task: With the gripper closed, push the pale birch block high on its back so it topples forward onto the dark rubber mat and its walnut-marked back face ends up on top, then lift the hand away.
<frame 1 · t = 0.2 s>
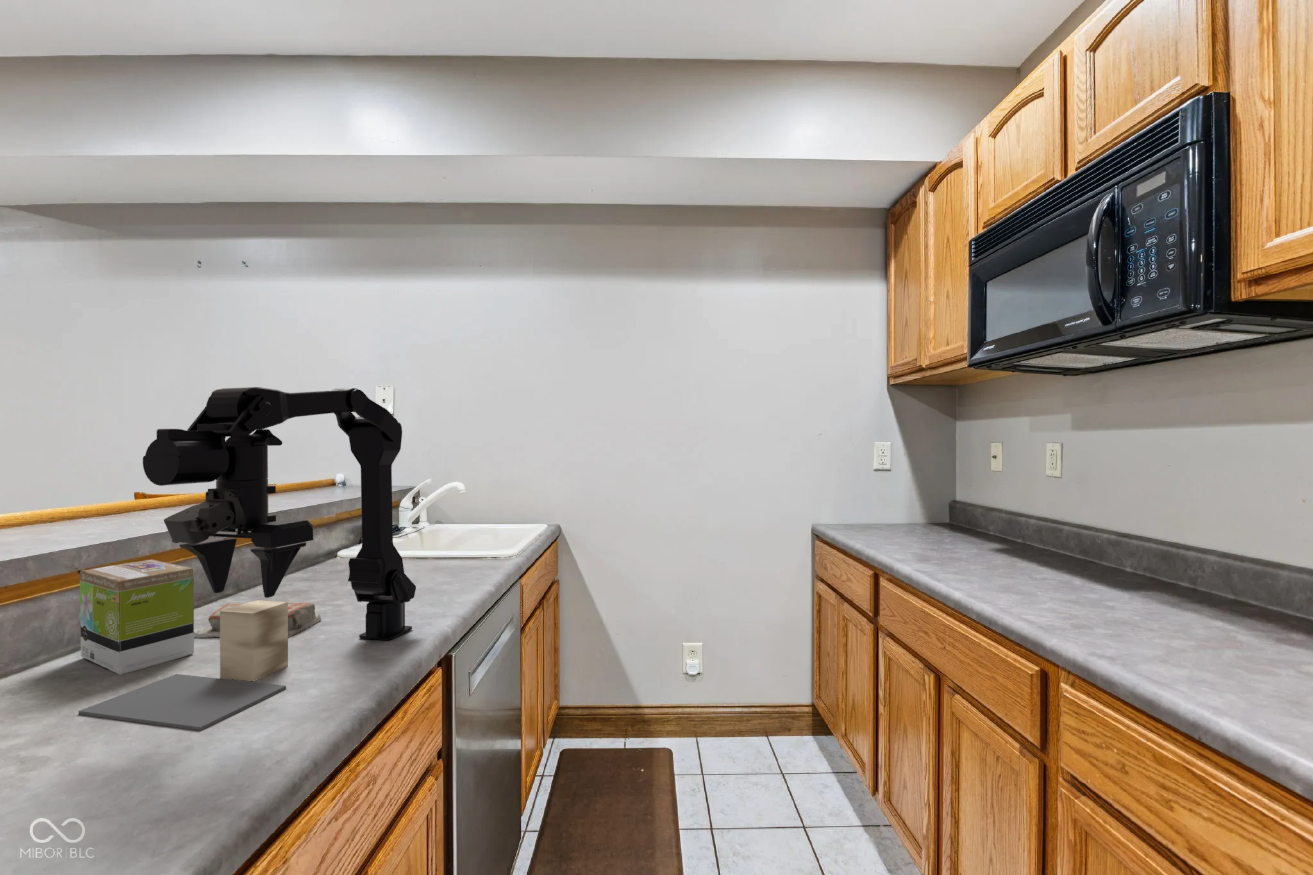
hand: (243, 594, 77), 14 cm above the counter, tool pointing down, fingers open, 9 cm apart
tea box: (137, 658, 93), on the counter
birch block: (254, 671, 86), on the counter
packaged product: (260, 632, 107), on the counter
rubber mat: (187, 700, 77), on the counter
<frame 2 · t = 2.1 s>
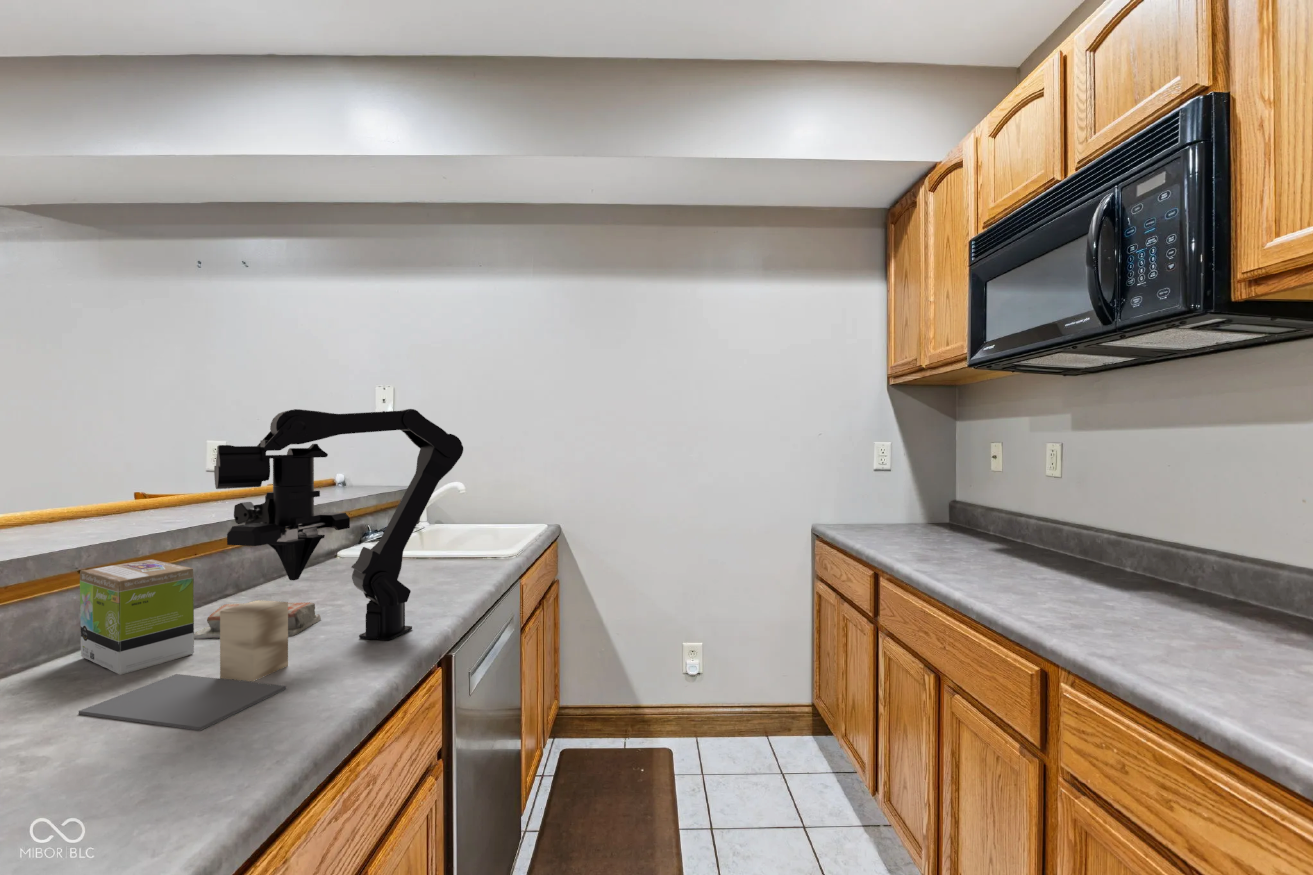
hand: (294, 579, 93), 12 cm above the counter, tool pointing down, fingers closed
nothing on the counter moved.
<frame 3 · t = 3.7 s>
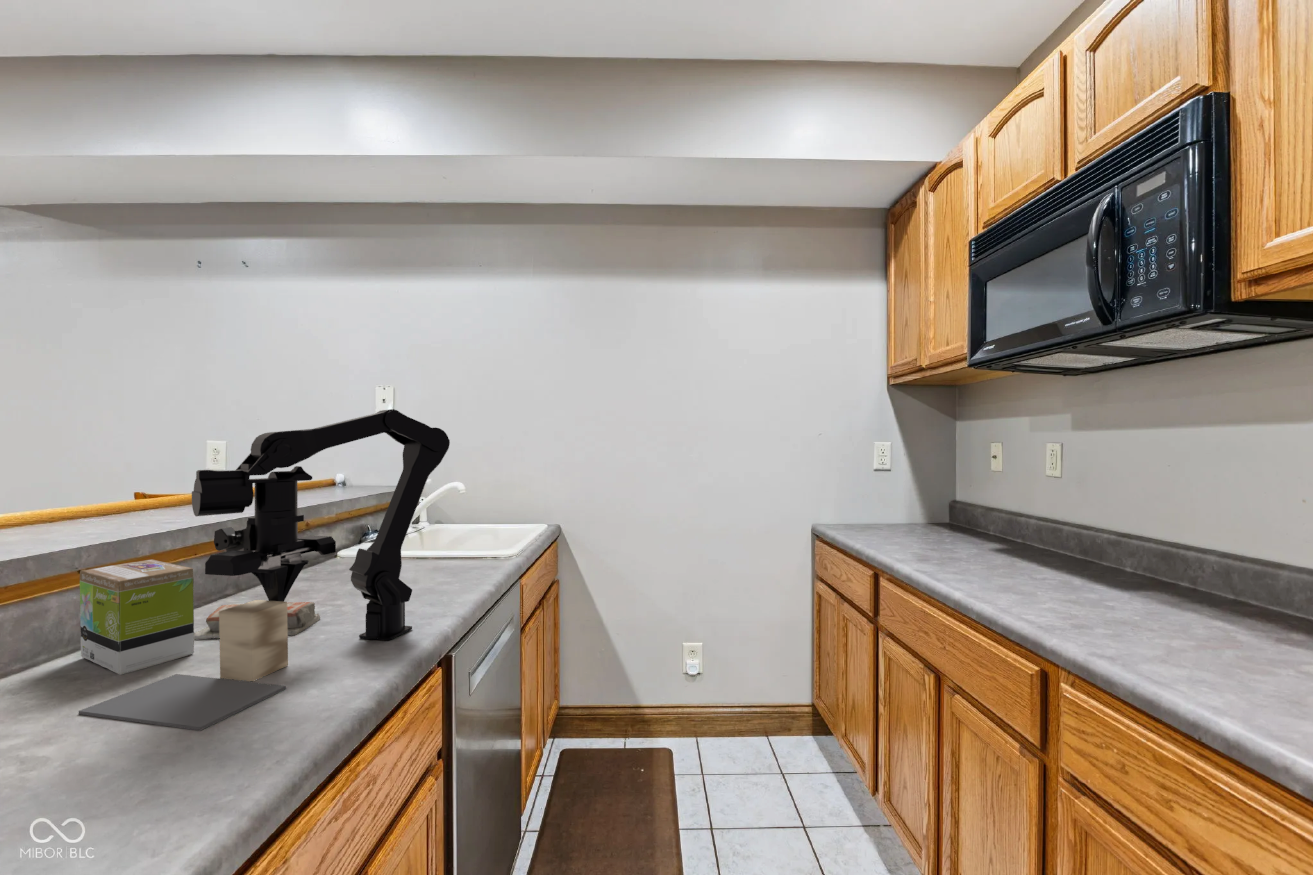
hand: (276, 607, 90), 9 cm above the counter, tool pointing down, fingers closed
birch block: (255, 671, 86), on the counter, touching gripper
everything else where it was.
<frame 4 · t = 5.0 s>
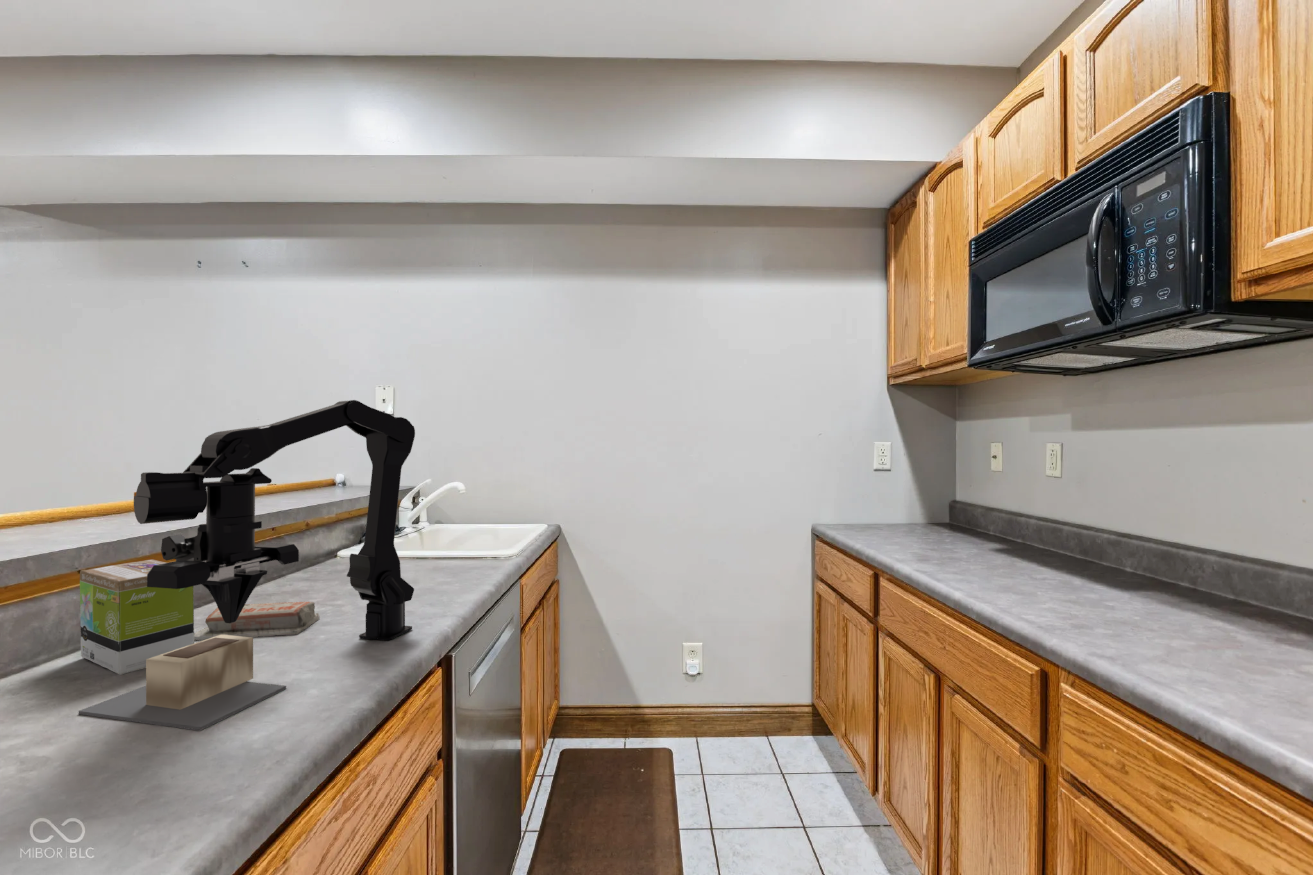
hand: (230, 622, 83), 9 cm above the counter, tool pointing down, fingers closed
birch block: (237, 656, 84), point 3 cm above the counter, tilted 90°, touching rubber mat
everything else where it was.
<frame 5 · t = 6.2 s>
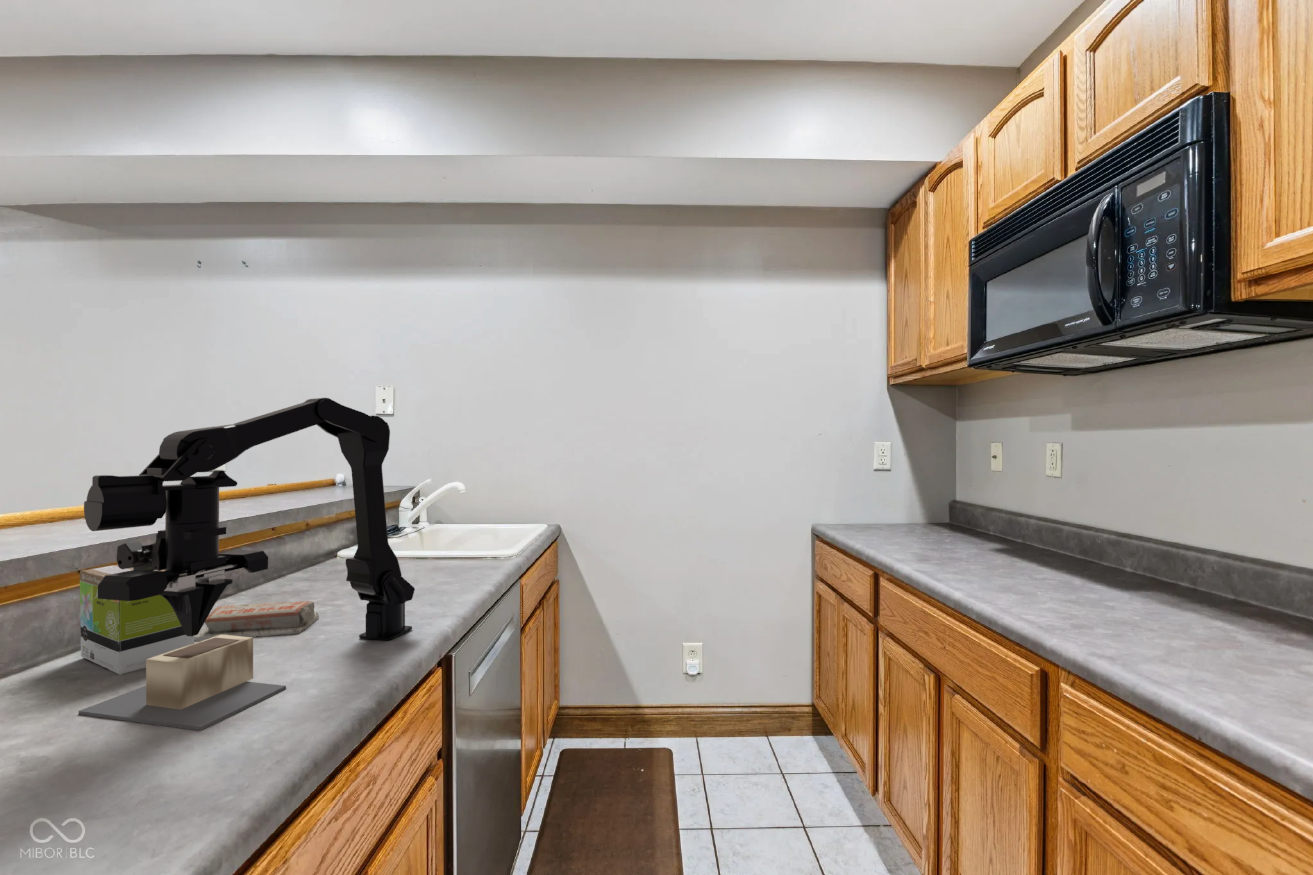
hand: (192, 635, 77), 9 cm above the counter, tool pointing down, fingers closed
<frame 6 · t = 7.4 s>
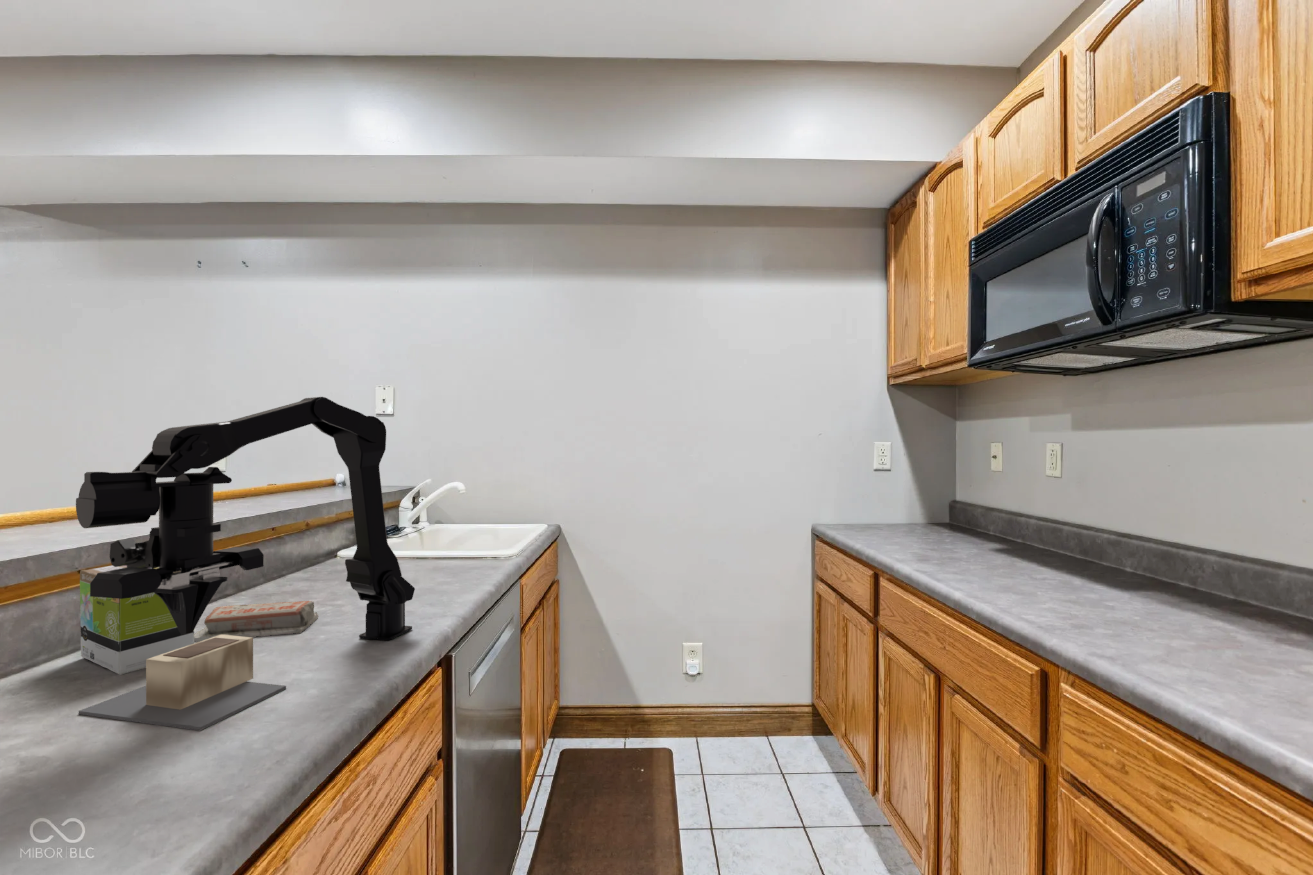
hand: (186, 633, 77), 9 cm above the counter, tool pointing down, fingers closed
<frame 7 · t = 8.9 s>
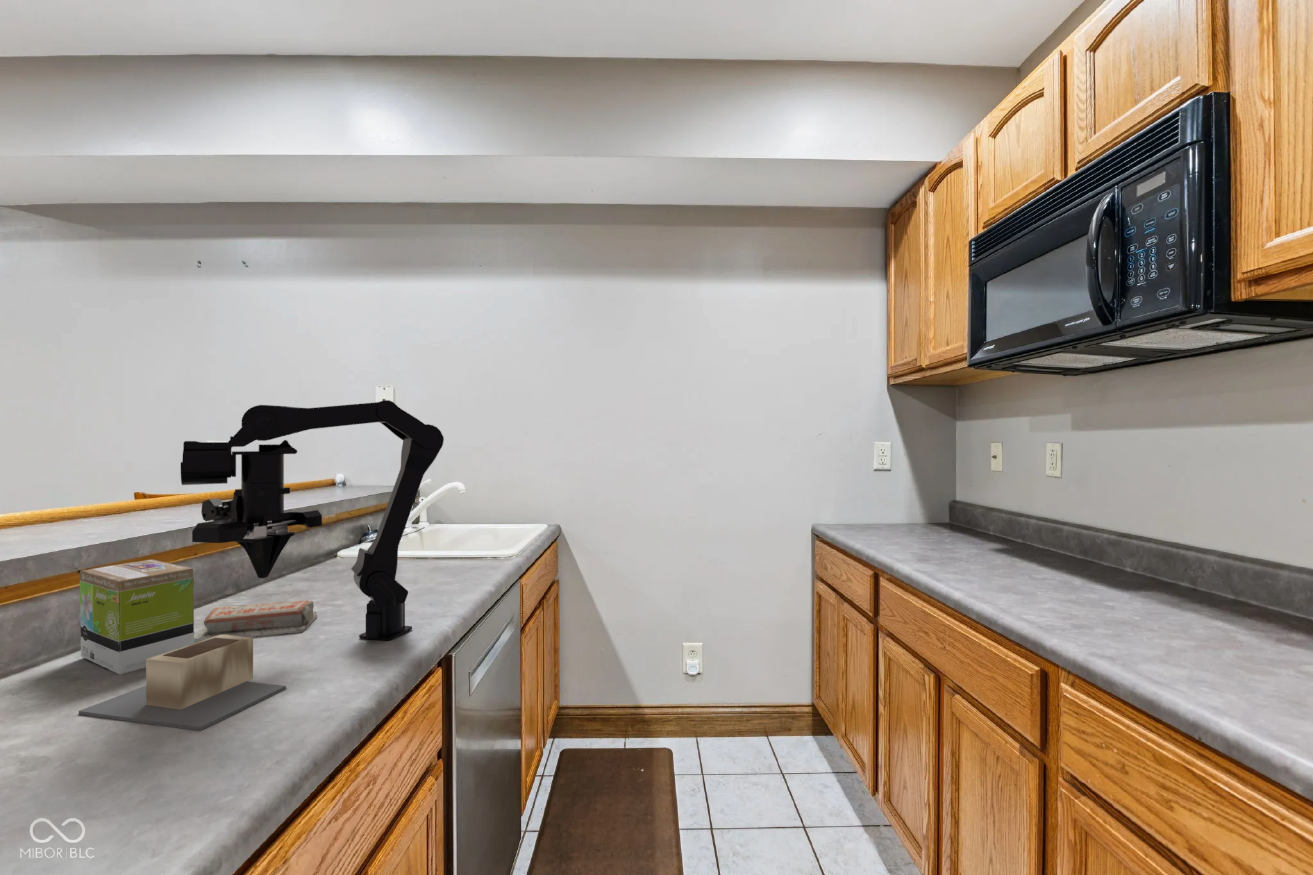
hand: (263, 577, 92), 13 cm above the counter, tool pointing down, fingers closed
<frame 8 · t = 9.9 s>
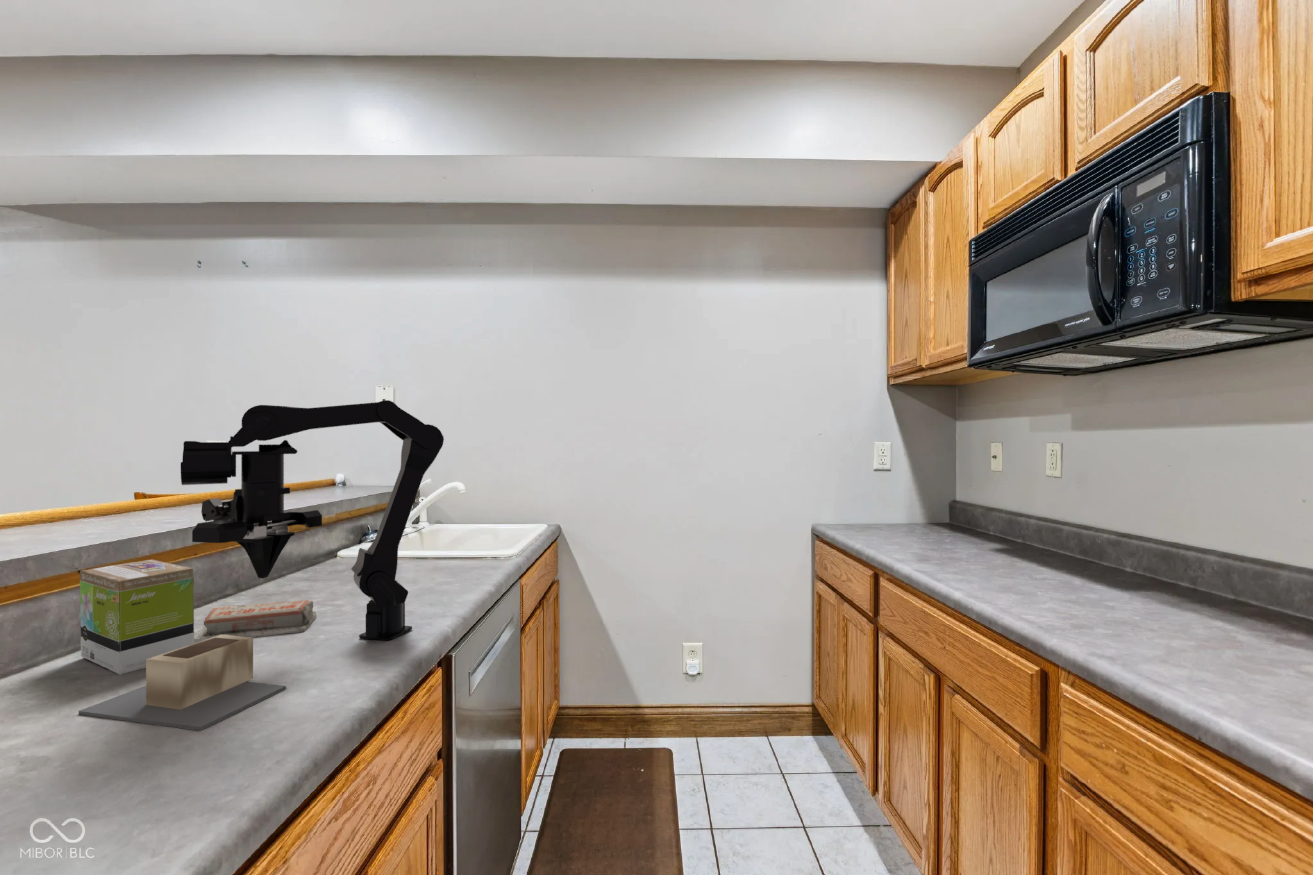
hand: (263, 577, 92), 13 cm above the counter, tool pointing down, fingers closed
at the end: birch block tilted 90°; birch block inside the target area (3.6 cm from its centre), point 3.4 cm above the counter; birch block touching rubber mat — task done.
